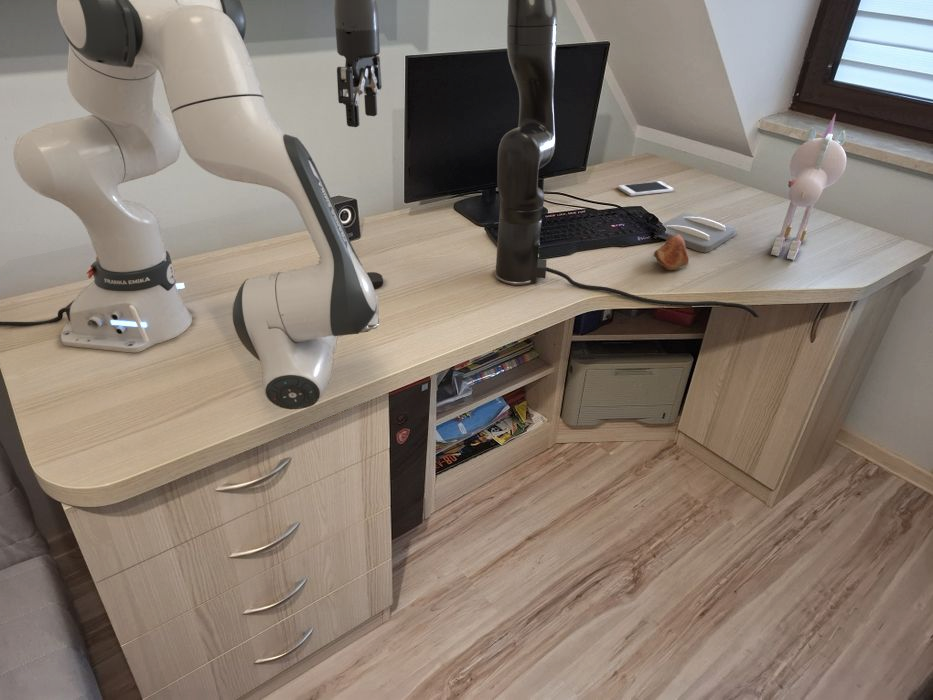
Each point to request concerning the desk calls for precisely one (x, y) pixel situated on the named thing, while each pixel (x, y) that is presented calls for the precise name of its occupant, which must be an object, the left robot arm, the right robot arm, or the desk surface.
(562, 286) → the desk surface
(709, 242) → the light switch
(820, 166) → the toy
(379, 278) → the lid
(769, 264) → the desk surface
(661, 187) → the smartphone
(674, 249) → the fossil
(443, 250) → the desk surface
